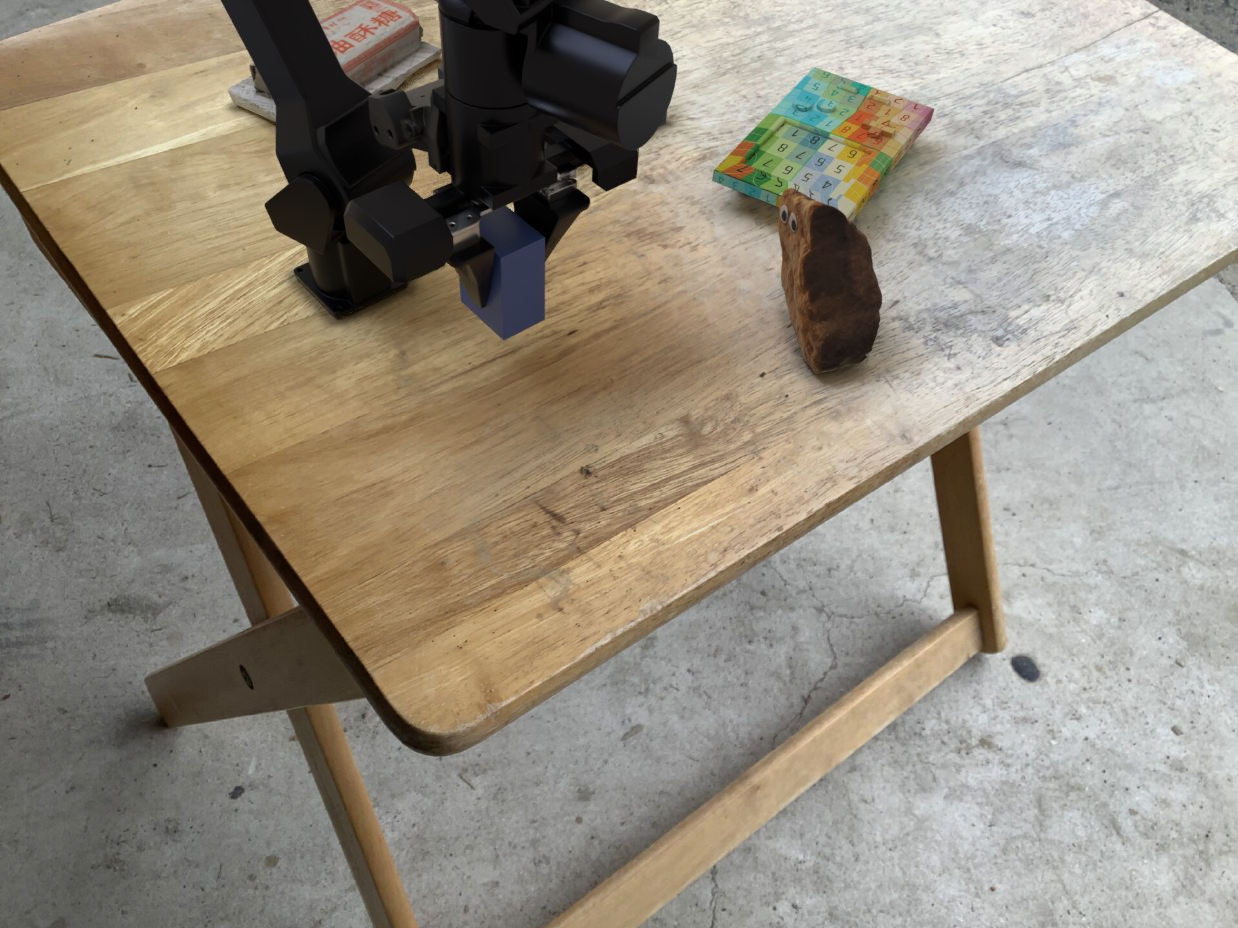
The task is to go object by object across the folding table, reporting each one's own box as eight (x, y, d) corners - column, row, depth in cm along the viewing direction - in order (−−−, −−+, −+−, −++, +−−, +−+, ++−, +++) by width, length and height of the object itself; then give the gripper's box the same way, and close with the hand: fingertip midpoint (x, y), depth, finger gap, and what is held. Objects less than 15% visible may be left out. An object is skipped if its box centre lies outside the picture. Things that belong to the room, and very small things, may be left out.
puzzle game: (937, 99, 96) (847, 211, 85) (923, 145, 100) (835, 259, 88) (817, 58, 100) (715, 160, 88) (807, 104, 103) (708, 208, 92)
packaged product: (358, -21, 105) (439, 12, 101) (364, 28, 108) (443, 60, 105) (217, 55, 94) (303, 94, 91) (229, 106, 98) (312, 144, 95)
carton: (545, 320, 75) (545, 237, 69) (503, 341, 73) (500, 258, 68) (501, 281, 77) (498, 199, 72) (460, 301, 75) (454, 218, 70)
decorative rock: (756, 278, 86) (779, 161, 78) (829, 272, 87) (859, 156, 79) (800, 385, 79) (830, 268, 71) (879, 377, 80) (918, 261, 72)
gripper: (538, -17, 70) (538, 187, 82) (275, 71, 62) (318, 284, 73) (652, 56, 65) (635, 264, 77) (382, 164, 56) (410, 378, 68)
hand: (502, 293), depth 74 cm, fingers closed on carton, 3 cm apart
